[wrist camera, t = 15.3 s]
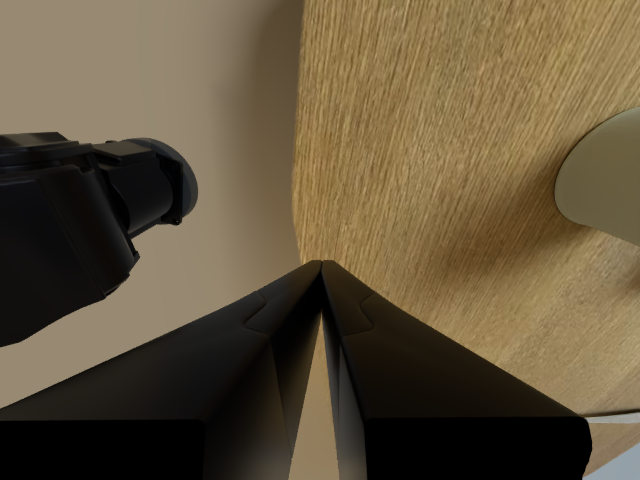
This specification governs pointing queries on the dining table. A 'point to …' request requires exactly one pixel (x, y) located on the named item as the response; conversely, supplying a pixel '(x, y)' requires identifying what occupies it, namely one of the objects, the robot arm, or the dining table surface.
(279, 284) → the robot arm
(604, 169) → the can
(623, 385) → the dining table surface
